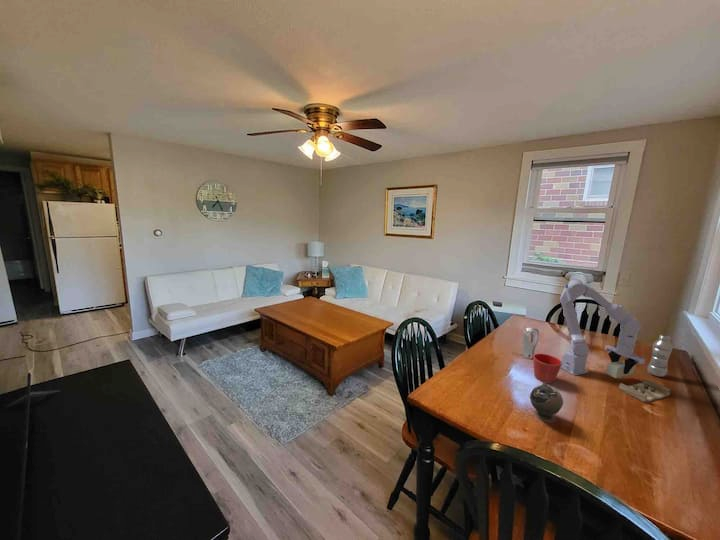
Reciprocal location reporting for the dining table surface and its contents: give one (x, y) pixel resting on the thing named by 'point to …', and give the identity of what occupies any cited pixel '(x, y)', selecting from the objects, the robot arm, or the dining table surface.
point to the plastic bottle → (660, 356)
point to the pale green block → (618, 369)
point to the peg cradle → (645, 390)
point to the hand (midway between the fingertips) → (620, 370)
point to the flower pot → (546, 367)
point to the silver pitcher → (529, 342)
